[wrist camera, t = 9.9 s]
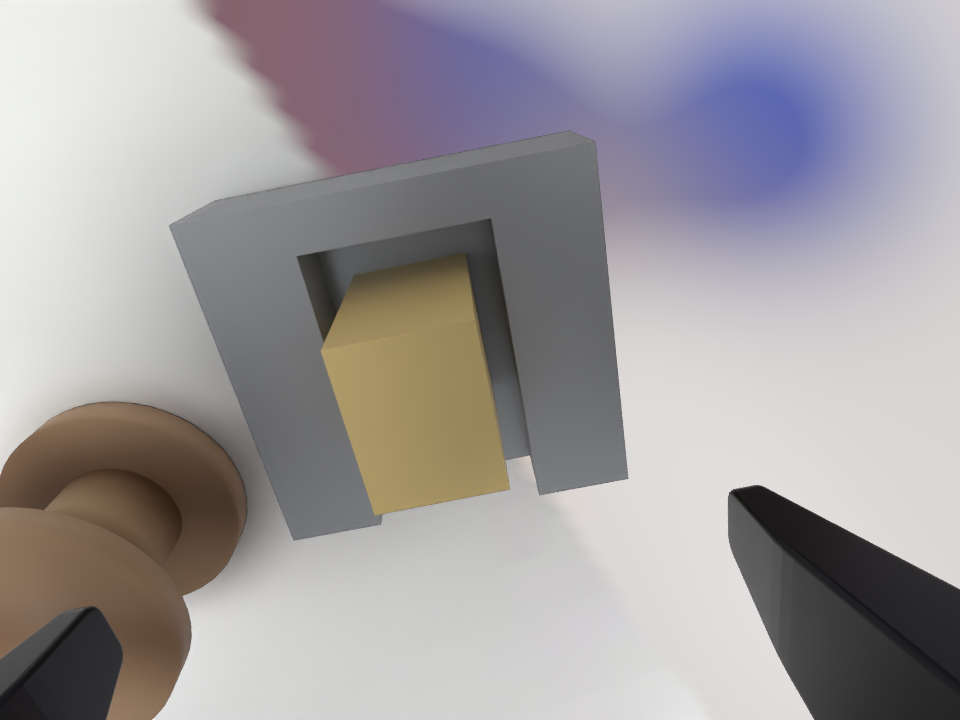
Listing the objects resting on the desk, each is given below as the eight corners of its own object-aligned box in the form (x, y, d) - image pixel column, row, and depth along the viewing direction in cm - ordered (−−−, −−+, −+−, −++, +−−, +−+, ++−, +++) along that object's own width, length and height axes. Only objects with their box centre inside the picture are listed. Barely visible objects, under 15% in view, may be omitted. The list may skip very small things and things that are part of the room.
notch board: (602, 423, 20) (628, 478, 17) (313, 477, 20) (293, 540, 17) (569, 130, 16) (595, 141, 13) (214, 201, 16) (168, 225, 14)
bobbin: (275, 560, 21) (218, 724, 16) (79, 596, 22) (-43, 771, 16) (200, 382, 18) (100, 510, 13) (-26, 425, 19) (-218, 570, 13)
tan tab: (492, 385, 18) (510, 489, 13) (391, 404, 18) (374, 515, 13) (465, 252, 16) (475, 319, 12) (353, 275, 16) (320, 350, 12)
